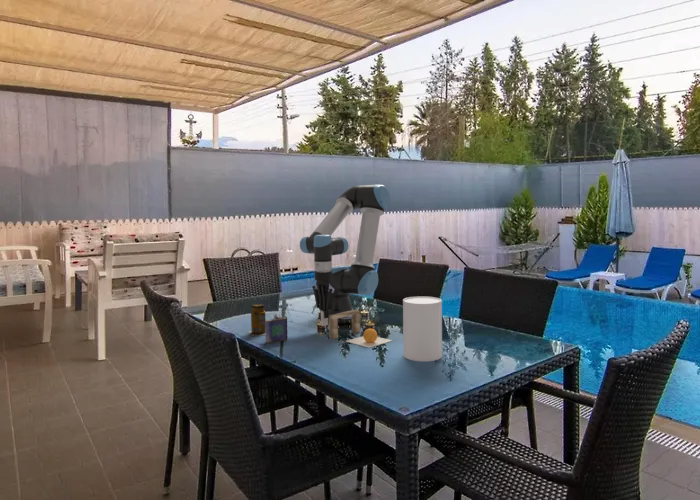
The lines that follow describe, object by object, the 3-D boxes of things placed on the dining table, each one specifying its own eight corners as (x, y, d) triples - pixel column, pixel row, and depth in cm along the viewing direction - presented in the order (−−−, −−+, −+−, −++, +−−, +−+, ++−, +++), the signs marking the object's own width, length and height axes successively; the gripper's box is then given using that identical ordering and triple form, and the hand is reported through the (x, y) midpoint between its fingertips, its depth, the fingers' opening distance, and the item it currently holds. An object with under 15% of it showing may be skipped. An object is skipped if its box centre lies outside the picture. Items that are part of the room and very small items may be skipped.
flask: (267, 343, 204) (266, 316, 203) (264, 342, 207) (263, 315, 206) (288, 340, 209) (288, 313, 208) (285, 338, 211) (285, 312, 210)
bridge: (329, 337, 211) (328, 315, 210) (355, 330, 221) (354, 309, 220) (334, 338, 209) (333, 316, 208) (360, 332, 219) (359, 310, 218)
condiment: (265, 330, 226) (264, 302, 225) (269, 334, 218) (268, 306, 217) (248, 331, 223) (247, 304, 222) (251, 336, 215) (250, 308, 214)
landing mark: (369, 335, 214) (368, 334, 214) (392, 341, 204) (392, 340, 204) (345, 341, 205) (345, 340, 205) (368, 347, 196) (368, 347, 196)
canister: (415, 363, 176) (415, 305, 174) (396, 353, 189) (396, 298, 187) (449, 358, 182) (449, 301, 180) (428, 348, 194) (428, 295, 192)
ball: (378, 344, 203) (368, 337, 207) (381, 331, 202) (371, 325, 205) (368, 346, 200) (359, 339, 203) (371, 333, 198) (362, 327, 202)
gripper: (306, 270, 224) (308, 324, 227) (326, 273, 215) (327, 329, 217) (320, 268, 229) (321, 321, 232) (340, 271, 220) (341, 326, 222)
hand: (324, 325), depth 224 cm, fingers closed
